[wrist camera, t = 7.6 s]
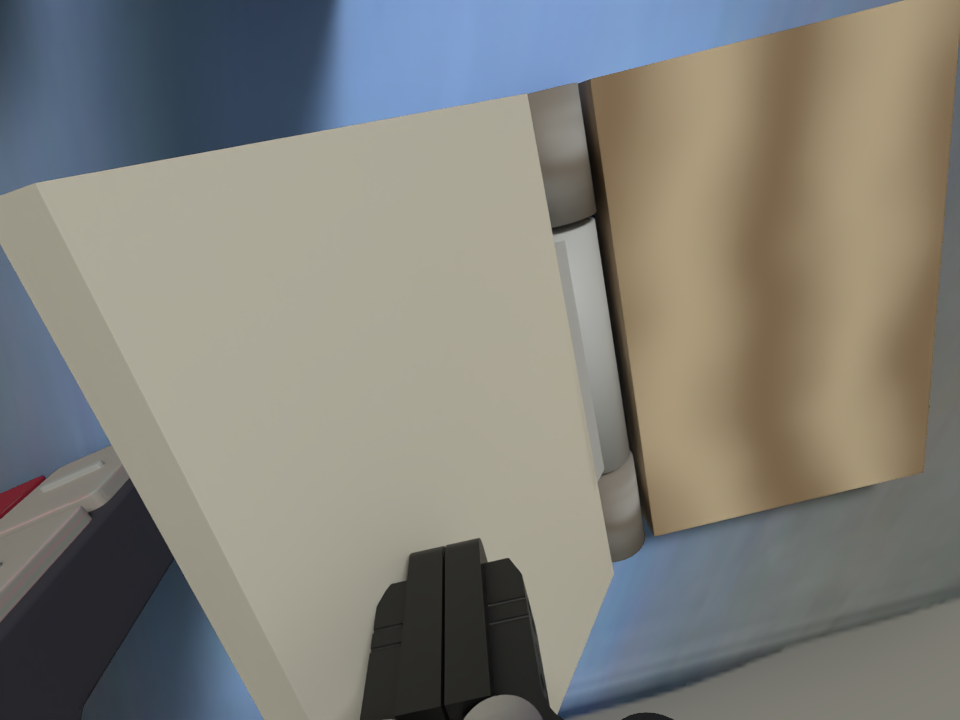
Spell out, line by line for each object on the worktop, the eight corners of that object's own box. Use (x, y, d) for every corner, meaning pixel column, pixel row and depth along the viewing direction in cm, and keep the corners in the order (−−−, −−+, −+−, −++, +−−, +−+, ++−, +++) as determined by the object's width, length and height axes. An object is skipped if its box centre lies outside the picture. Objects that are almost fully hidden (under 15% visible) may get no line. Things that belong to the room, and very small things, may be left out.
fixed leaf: (909, 0, 19) (990, -23, 16) (886, 447, 26) (941, 484, 23) (481, 108, 19) (489, 103, 17) (568, 523, 26) (584, 569, 23)
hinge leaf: (510, 101, 20) (586, 81, 18) (589, 512, 27) (649, 521, 25) (-40, 210, 7) (60, 174, 6) (373, 936, 14) (468, 1005, 13)
